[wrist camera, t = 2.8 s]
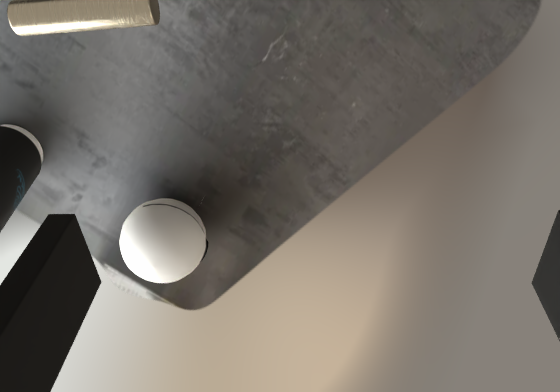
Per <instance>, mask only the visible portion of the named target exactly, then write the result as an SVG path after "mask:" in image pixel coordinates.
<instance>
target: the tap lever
mask: <svg viewBox="0 0 560 392" xmlns="http://www.w3.org/2000/svg"><path fill="white" fill-rule="evenodd" d="M7 14H8V19H9V22H10V25H11V27H12V29H13V30H14V31H15V33H16V34H18V35H20V36H30V35H42V34H55V33H67V32H79V31H91V30H103V29H116V28H128V27H140V26H152V25H158V24H159V20H160V10H159V4H158V0H13V1H11V2H10V3H9V4H8V8H7Z"/></svg>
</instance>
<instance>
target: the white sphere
mask: <svg viewBox="0 0 560 392" xmlns="http://www.w3.org/2000/svg"><path fill="white" fill-rule="evenodd" d="M205 195H206V194H205ZM203 199H204V198H203ZM200 204H201V203H200ZM119 243H120V248H121V253H122V256H123V259H124V261H125V263H126V264H127V266H128V268H129V269H131V270H132V271H133V272H134V273H135V274H136V275H138V276H139V277H141V278H143V279H145V280H148V281H152V282H155V283H170V282H174V281H178V280H180V279H181V278H183V277H185V276H186V275H188V274H190V273H191V272H192V271H193V270H194V269H195V268H196V267H197V266H198V265H199V263H200V262H201V261H202V260H203V258H204V257H205V255H206V252H207V249H208V241H207V239H206V231H205V227H204V225H203V223H202V220H201V218H200V217H199V216H198V214H197V213H196V212H195V211H194V210H193V209H192V208H191V207H190V206H188V205H186V204H185V203H183V202H181V201H178V200H174V199H169V198H160V199H156V200H152V201H148V202H144V203H143V204H141V205H140V206H138V207H137V208H135V209H134V210H133V211H132V213H131V214H130V215H129V216H128V218H127V219H126V220H125V222H124V223H123V227H122V232H121V236H120V241H119Z"/></svg>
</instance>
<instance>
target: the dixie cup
mask: <svg viewBox="0 0 560 392" xmlns="http://www.w3.org/2000/svg"><path fill="white" fill-rule="evenodd" d="M42 162H43V150H42V147H41V145H40V143H39V142H38V140H37V139H36V138H35V137H34V136H33V135H32V134H31V133H30V132H28V131H27V130H25V129H23V128H21V127H19V126H15V125H9V124H5V125H0V232H1V230H2V229H3V227H4V226H5V224H6V222H7V221H8V220H9V218H10V216H11V215H12V214H13V212H14V211H15V209H16V208H17V206H18V204H19V203H20V201H21V200H22V198H23V197H24V195H25V194H26V192H27V191H28V189H29V188H30V186H31V185H32V183H33V182H34V180H35V179H36V177H37V175H38V174H39V172H40V170H41V164H42Z"/></svg>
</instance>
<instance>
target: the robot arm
mask: <svg viewBox="0 0 560 392" xmlns="http://www.w3.org/2000/svg"><path fill="white" fill-rule="evenodd" d="M100 284H101V280H100V277H99V275H98V272H97V270H96V267H95V265H94V262H93V259H92V257H91V254H90V252H89V249H88V246H87V244H86V241H85V239H84V236H83V234H82V231H81V229H80V226H79V223H78V221H77V218H76V216H75V214H49V215H48V216H47V218H46V219H45V220H44V222H43V223H42V225H41V226H40V228H39V229H38V231H37V232H36V234H35V235H34V237H33V238H32V240H31V241H30V242H29V244H28V245H27V247H26V248H25V250H24V251H23V253H22V254H21V256H20V257H19V259H18V260H17V261H16V263H15V265H14V266H13V267H12V269H11V270H10V272H9V273H8V275H7V277H6V278H5V279H4V281H3V282H2V283H1V285H0V392H50V391H51V389H52V387H53V385H54V383H55V380H56V379H57V376H58V374H59V372H60V370H61V368H62V365H63V363H64V361H65V359H66V357H67V355H68V353H69V350H70V348H71V346H72V344H73V342H74V340H75V337H76V335H77V333H78V331H79V329H80V327H81V325H82V322H83V320H84V318H85V316H86V314H87V312H88V310H89V307H90V305H91V303H92V301H93V299H94V297H95V295H96V292H97V290H98V288H99V286H100ZM532 285H533V287H534V289H535V291H536V293H537V295H538V297H539V299H540V301H541V303H542V305H543V308H544V310H545V311H546V314H547V316H548V318H549V320H550V322H551V324H552V326H553V328H554V330H555V332H556V335H557V337H558V339H559V341H560V210H559V211H558V213H557V216H556V218H555V221H554V224H553V226H552V229H551V232H550V235H549V237H548V240H547V243H546V246H545V248H544V251H543V254H542V256H541V259H540V262H539V264H538V267H537V270H536V273H535V275H534V278H533V281H532Z"/></svg>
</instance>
